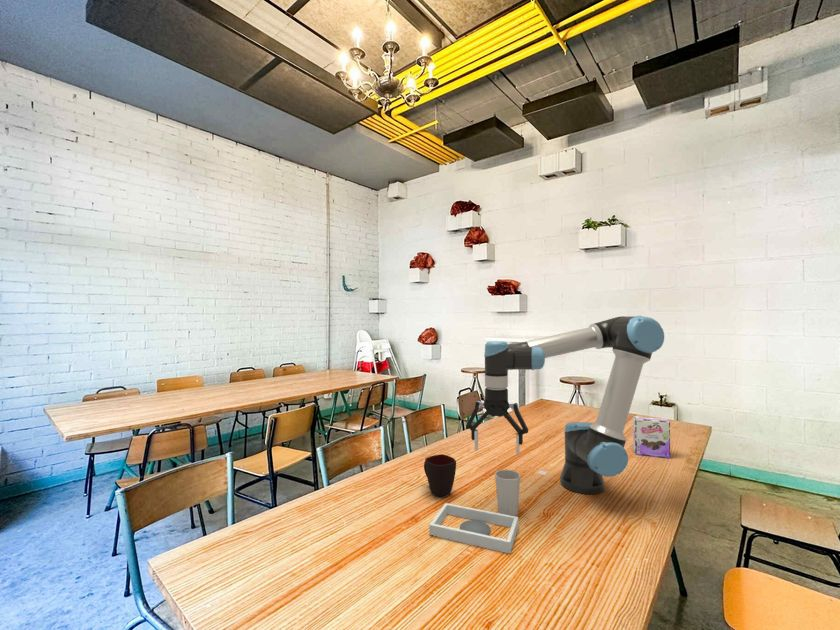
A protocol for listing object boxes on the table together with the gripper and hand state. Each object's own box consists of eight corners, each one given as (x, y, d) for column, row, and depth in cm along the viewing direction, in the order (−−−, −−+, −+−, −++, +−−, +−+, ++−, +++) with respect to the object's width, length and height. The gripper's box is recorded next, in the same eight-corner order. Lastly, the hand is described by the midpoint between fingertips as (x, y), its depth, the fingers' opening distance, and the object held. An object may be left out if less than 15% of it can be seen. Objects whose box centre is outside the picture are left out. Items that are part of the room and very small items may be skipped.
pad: (493, 525, 116) (493, 523, 116) (486, 541, 108) (486, 539, 108) (464, 519, 120) (464, 517, 120) (455, 534, 111) (455, 532, 111)
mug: (437, 502, 130) (437, 467, 131) (415, 487, 142) (415, 455, 142) (460, 495, 136) (460, 461, 136) (437, 481, 148) (436, 449, 148)
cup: (521, 519, 120) (521, 480, 120) (495, 516, 121) (494, 478, 121) (519, 506, 127) (519, 470, 127) (495, 504, 129) (495, 468, 129)
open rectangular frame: (518, 527, 115) (518, 517, 115) (510, 553, 102) (510, 542, 102) (445, 512, 124) (445, 503, 124) (429, 535, 111) (429, 524, 111)
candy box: (635, 454, 174) (634, 418, 175) (633, 450, 180) (632, 415, 180) (670, 459, 169) (670, 421, 169) (667, 454, 175) (667, 418, 175)
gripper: (535, 387, 128) (536, 451, 128) (461, 384, 136) (462, 444, 136) (535, 392, 121) (535, 459, 121) (457, 387, 129) (457, 451, 128)
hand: (496, 451), depth 128 cm, fingers open, 13 cm apart
